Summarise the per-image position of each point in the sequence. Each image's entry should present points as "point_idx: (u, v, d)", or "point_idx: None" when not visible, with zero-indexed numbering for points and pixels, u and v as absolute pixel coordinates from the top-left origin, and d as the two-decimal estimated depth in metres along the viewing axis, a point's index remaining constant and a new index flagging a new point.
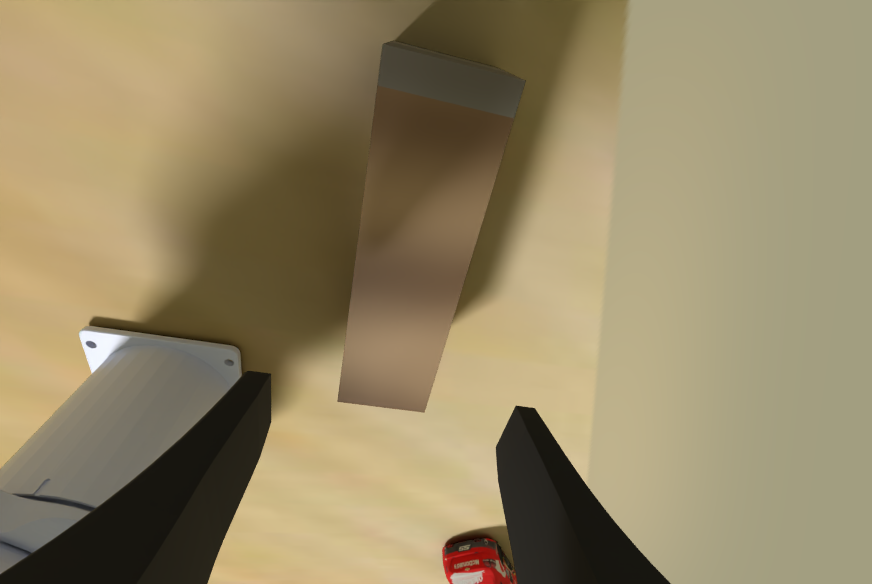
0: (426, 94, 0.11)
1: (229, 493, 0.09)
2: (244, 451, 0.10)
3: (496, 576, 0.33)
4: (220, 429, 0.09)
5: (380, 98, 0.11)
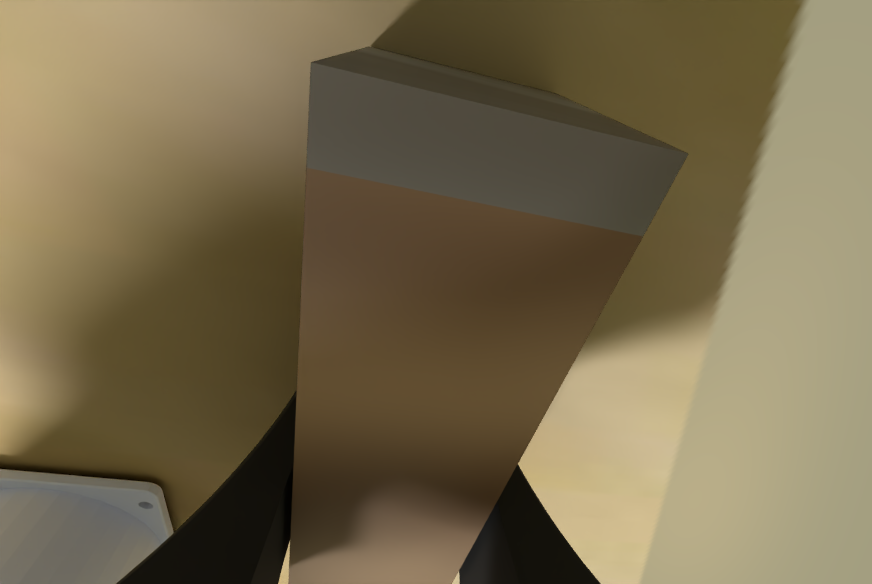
0: (433, 187, 0.04)
1: None
2: None
3: None
4: (292, 437, 0.09)
5: (316, 197, 0.04)
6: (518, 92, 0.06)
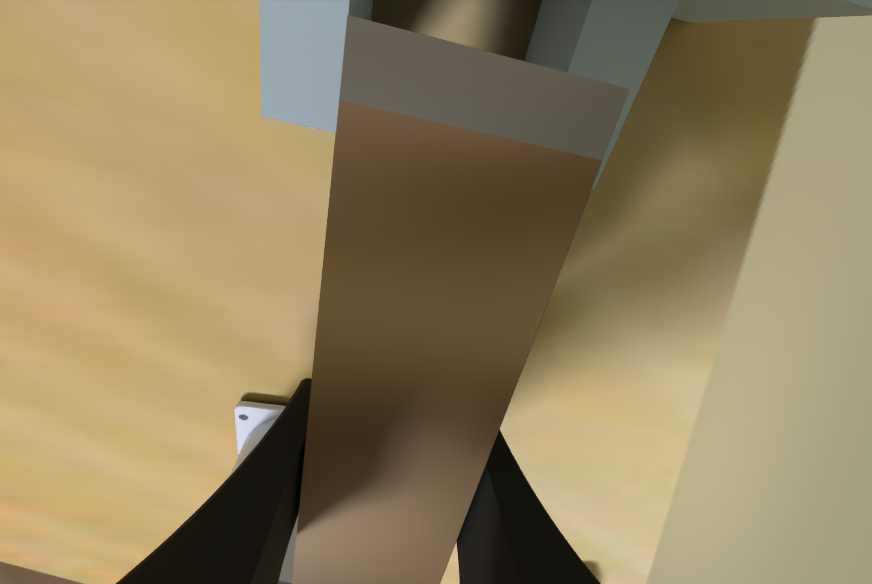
0: (436, 116, 0.06)
1: (296, 499, 0.09)
2: None
3: None
4: (292, 437, 0.09)
5: (345, 124, 0.06)
6: None
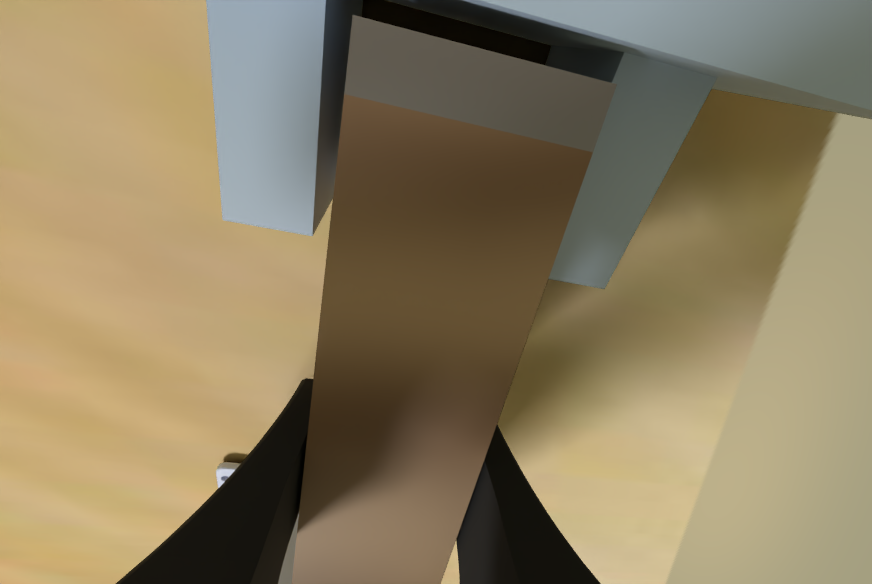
0: (435, 110, 0.06)
1: (296, 499, 0.09)
2: None
3: None
4: (292, 437, 0.09)
5: (350, 118, 0.06)
6: None
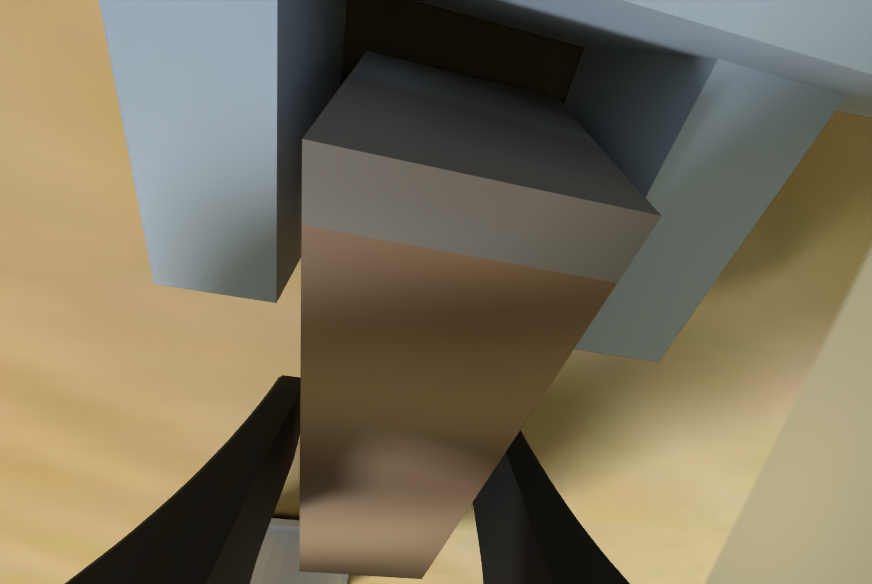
0: (419, 241, 0.05)
1: (269, 496, 0.09)
2: (282, 455, 0.10)
3: None
4: (263, 434, 0.09)
5: (311, 248, 0.05)
6: (512, 117, 0.06)
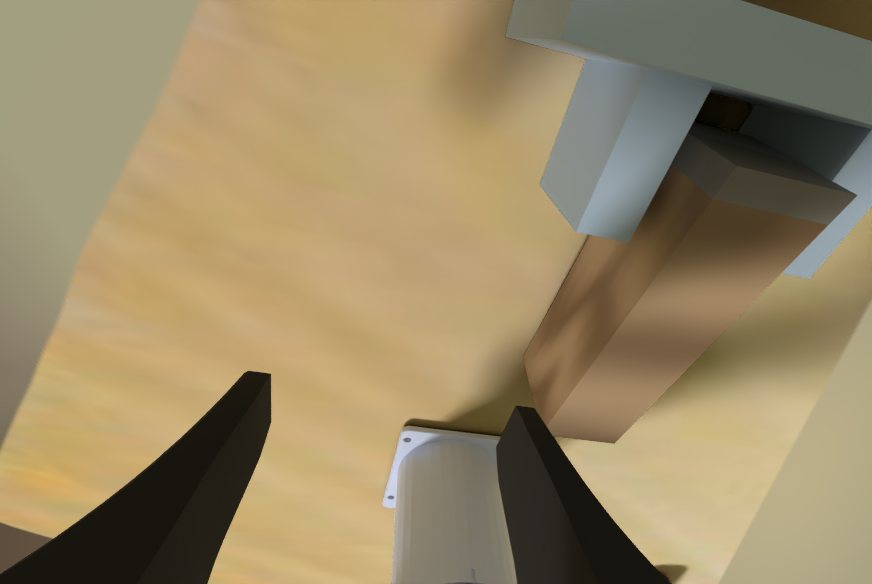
0: (755, 206, 0.12)
1: (229, 493, 0.09)
2: (244, 451, 0.10)
3: None
4: (220, 429, 0.09)
5: (710, 209, 0.12)
6: (758, 150, 0.13)
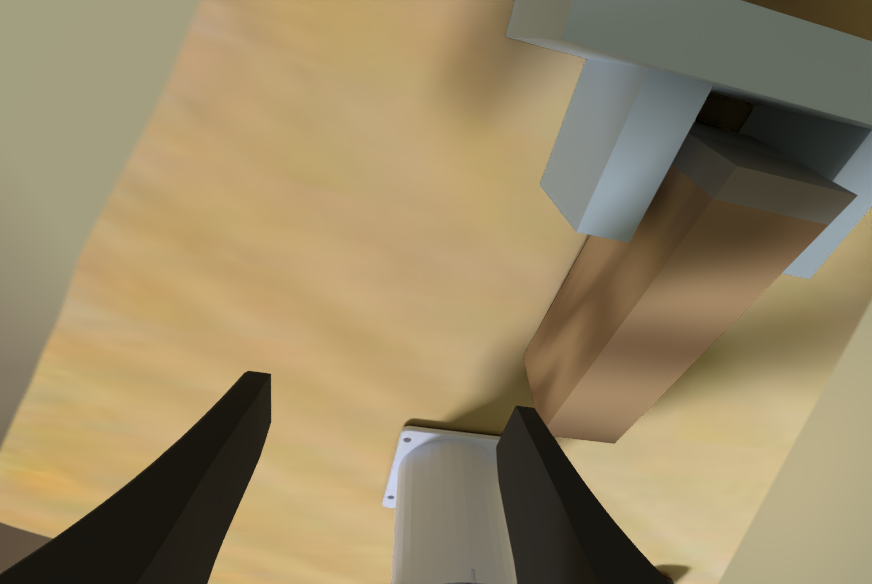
0: (756, 206, 0.12)
1: (229, 493, 0.09)
2: (244, 451, 0.10)
3: None
4: (220, 429, 0.09)
5: (710, 209, 0.12)
6: (759, 151, 0.13)
